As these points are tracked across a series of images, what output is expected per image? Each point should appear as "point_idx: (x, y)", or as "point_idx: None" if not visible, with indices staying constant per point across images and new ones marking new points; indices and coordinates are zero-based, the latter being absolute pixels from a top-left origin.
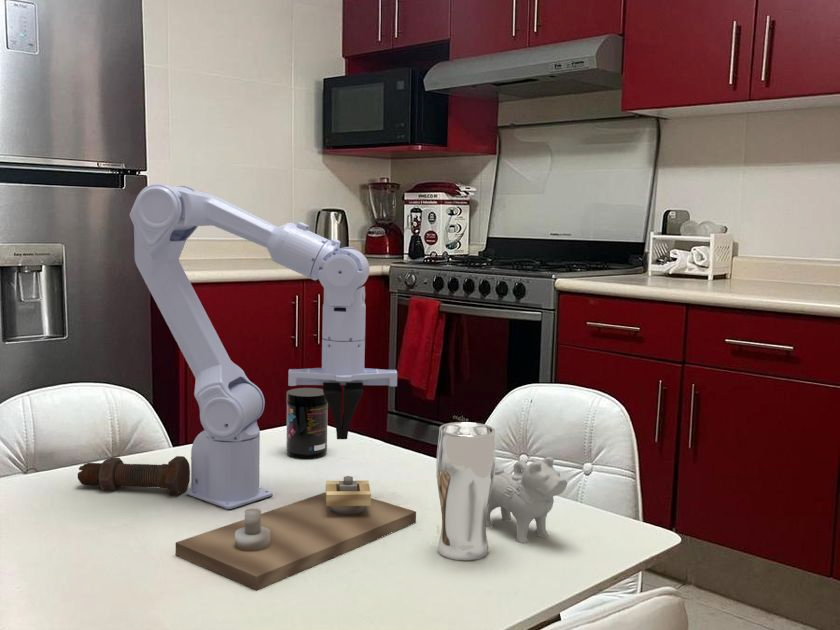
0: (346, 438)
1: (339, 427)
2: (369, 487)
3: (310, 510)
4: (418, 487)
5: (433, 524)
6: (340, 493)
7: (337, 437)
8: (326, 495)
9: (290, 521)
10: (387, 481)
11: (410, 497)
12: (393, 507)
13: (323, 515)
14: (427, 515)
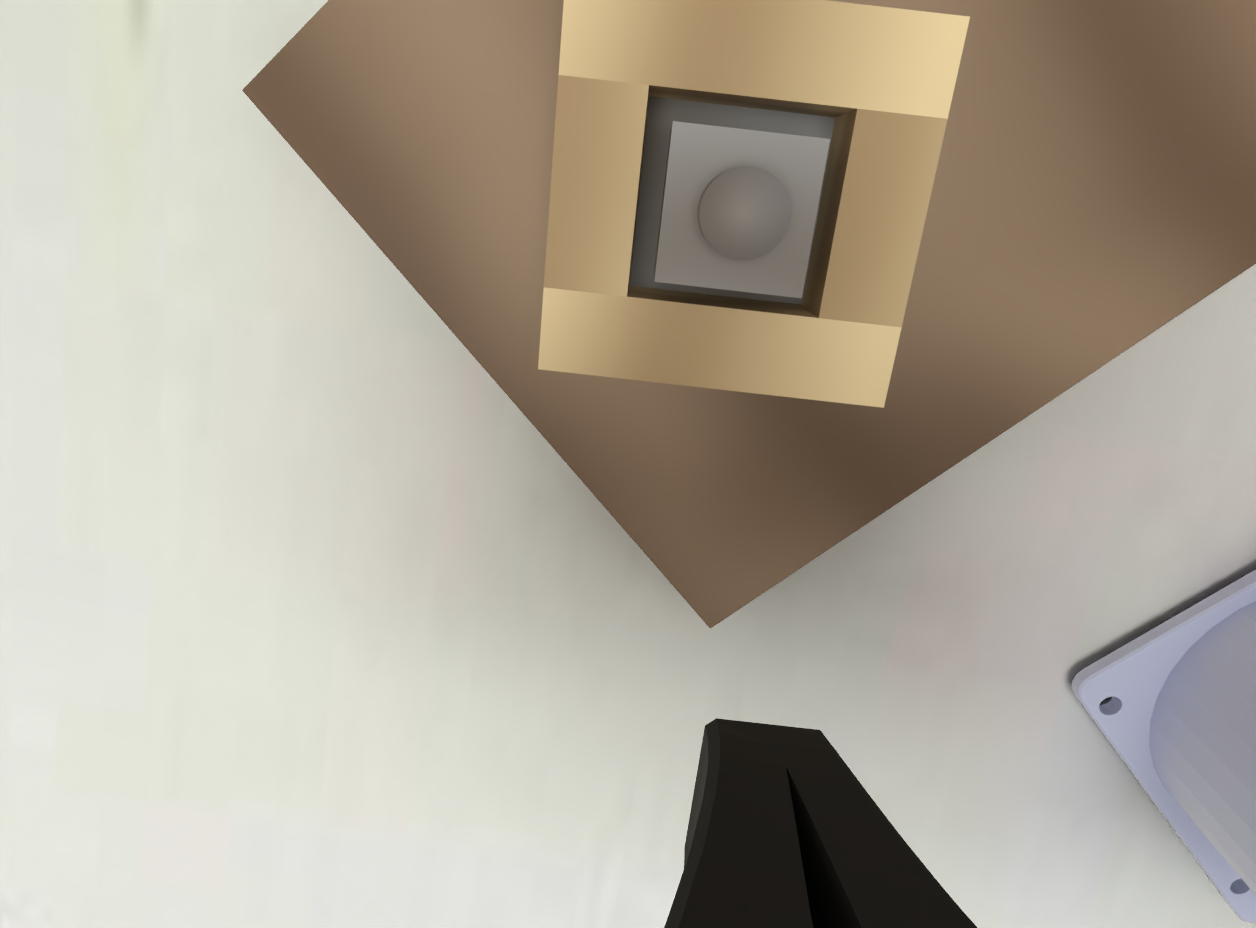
0: (717, 723)
1: (844, 812)
2: (553, 176)
3: (979, 227)
4: (224, 698)
5: (165, 53)
6: (837, 34)
7: (828, 741)
8: (967, 17)
9: (1180, 5)
10: (390, 807)
11: (281, 553)
12: (396, 202)
13: None
14: (196, 231)
